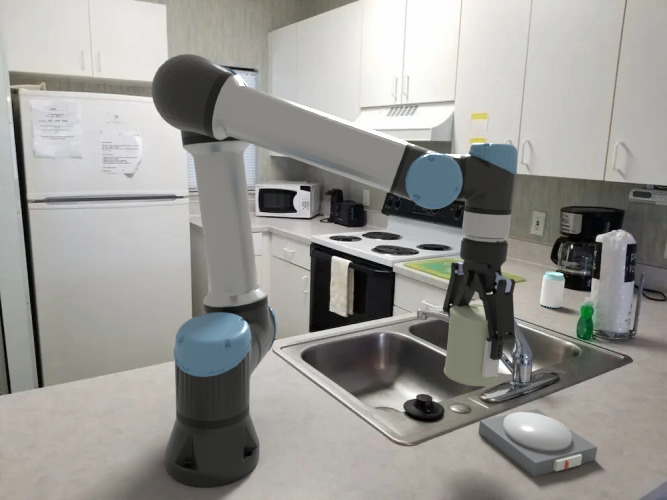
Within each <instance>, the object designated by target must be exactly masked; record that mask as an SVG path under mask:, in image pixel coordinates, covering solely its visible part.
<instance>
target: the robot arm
mask: <svg viewBox="0 0 667 500" xmlns="http://www.w3.org/2000/svg"><path fill="white" fill-rule="evenodd" d="M151 82H152V83H151V97H152V98H151V99H152V101H153V105H154V107H155V109H156V112H158V114H159V116H160V117H161V118H162V119H163V120H164V121H165V122H166V123H167V124H168V125H170V127H173V128H175V129H176V130H179V131H180V135H181V136H180V137H181V142H182V148H183V150H185V151H186V152H187V153H188V154H190V155H191V157H192V159H193V165H194V166H193V167H194V172H195V179H196V181H195V182H196V187H197V195H198V201H199V202H198V203H199V211H200V217H201V218H200V219H201V226H202V233H203V235H202V236H203V242H204V249H205V257H206V266H207V273H208V279H209V280H208V281H209V287H210V288H209V292H208V293H207V295H206V296H205V297H204V298H203V301H202V302H203V303H202V304H203V309H204V310H203V311H204V314H202V315H201V316H198V315H197V316H196V315H195V316H194V317H191V318H190V319H188V320H187V321H185V322H184V323H182V325H180V327H179V328H178V330H177V332H176V334H175V339H174V340H175V341H174V348H173V359H174V376H175V377H174V378H175V379H174V380H175V381H174V383H175V417H176V418H175V421H174V423H173V427H172V430H171V432H170V435H169V439H168V441H167V444H166V448H165V452H164V453H165V469H166V471H167V473H168V474H169V475H170V477H172V478H173V479H174V480H176V481H177V482H179V483H181V484H184V485H189V486H191V487H192V486H194V487H201V488H202V487H203V488H205V487H207V488H208V487H211V488H212V487H219V486H223V485H228V484H231V483H233V482H236V481H238V480H241V479H242V478H244V477H246V476H247V475H248V474H250V473H251V472H252V471H253V470H254V469H255V467H256V466H257V465H258V463H259V459H260V448H261V446H260V439H259V436H258V433H257V431H256V427H255V425H254V423H253V419H252V417H251V413H250V396H251V394H250V393H251V391H250V388H251V386H250V383H251V376H252V375H253V372H255V369H257V367H258V366H259V364H260V363H261V362H262V361H263V359H264V358H265V356H266V355H267V354H268V353H269V351H270V350H271V349H272V347H273V345H274V342H275V340H276V337H277V332H278V320H277V317H276V314H275V312H274V309H273V308H272V306H270V304H269V299H268V297H269V296H268V292H267V290H266V289H264V288H263V287H262V286H260V285H259V283H258V274H257V273H258V272H257V263H256V257H255V256H256V255H255V254H256V253H255V246H254V238H253V228H252V220H251V211H250V210H251V209H250V203H249V201H250V200H249V193H248V183H247V174H246V166H245V157H244V153H245V151H246V149H248V147H249V146H250V144H251V145H254V146H257V147H259V148H263V149H265V150H269V151H270V152H273V153H276V154H279V155H281V156H285V157H288V158H289V159H290V158H291V159H294V160H295V161H299V162H302V163H304V164H308V165H310V166H314V167H317V168H319V169H322V170H324V171H328V172H331V173H333V174H336V175H339V176H342V177H345V178H347V179H350V180H353V181H356V182H358V183H362V184H364V185H367V186H370V187H373V188H376V189H380V190H381V191H385V192H386V193H387V192H388V193H390V194H393V195H395V196H397V197H400V198H403V199H407V200H409V201H411V202H413V203H415V204H416V206H418V207H421V208H425V209H427V210H437V209H442V208H445V207H447V206H450V204H452V203H453V202H454V201H464V210H463V216H462V217H463V219H462V228H461V233H462V235H464V236H463V237H462V238H461V242H460V251H459V257H460V258H461V259H462V260H463V261H453V262H451V264H450V277H449V281H448V284H447V285H448V286H447V290H446V294H445V297H444V300H443V301H444V302H443V306H442V311H443V313H446V314H447V316H448V318H449V319H450V308H451V307H453V306H468V305H469V304H470V303H471V301H472V299H473V297H474V296H475V293H477V294H478V298H479V300H480V301H482V306H484V311H485V316H486V321H488V325H487V327H488V332H489V337H490V338H486V340H485V349H484V358H483V367H482V376H483V377H484V378H485V377H492V376H498V374H499V367H500V366H499V365H500V360H501V359H502V358H503V349H504V344H505V342H508V341H514V340H515V338H516V336H515V335H516V334H515V332H516V331H515V313H514V312H515V311H514V310H515V308H514V292H515V291H514V290H515V287H516V286H515V285H516V280H515V279H514V278H506V277H504V276H503V274H502V273H503V272H502V266H503V264H505V263H506V261H507V258H508V257H507V256H508V250H509V249H508V248H509V242H508V241H507V240H506V239H508V238H509V236H510V229H511V221H512V220H511V219H512V211H513V210H512V209H513V201H514V195H515V185H516V178H517V176H518V172H517V169H518V168H517V165H518V149H517V147H516V146H515V145H514V144H510V143H495V142H493V143H491V142H489V143H487V142H473V143H472V144H471V145H470V147H469V151H468V153H465V154H463V153H462V154H454V153H444V152H441V151H435V150H432V149H428V148H426V147H422V146H419V145H417V144H414V143H413V144H412V143H410V142H408V141H406V140H402V139H399V138H397V137H394V136H391V135H390V134H385V133H382V132H379V131H376V130H373V129H371V128H368V127H365V126H362V125H359V124H357V123H354V122H351V121H348V120H345V119H342V118H339V117H338V116H337V117H336V116H334V115H331V114H328V113H325V112H322V111H320V110H317V109H314V108H310V107H308V106H305V105H301V103H300V104H299V103H296V102H293V101H291V100H288V99H284V98H282V97H279V96H276V95H273V94H271V93H268V92H265V91H261V90H259V89H255V87H254V88H253V87H251V86H249V85H248V83H246V81H245V80H244V79H243V78H242V77H241V76H240V75H239V74H238V73H237V72H235V70H233V69H231V68H229V67H226V66H224V65H221V64H218V63H216V62H213V61H212V60H210V59H208V58H205V57H203V56H200V55H196V54H193V53H192V54H191V53H190V54H189V53H185V54H178V55H176V56H172V57H170V58H168V59H167V60H165V61H164V62H163V63H162V64H161V65H160V66H159V67H158V68H157V71H156V72H155V73H154V77H153V79H152V81H151ZM496 331H497V333H496ZM498 377H499V376H498Z"/></svg>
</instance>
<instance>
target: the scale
mask: <svg viewBox="0 0 667 500" xmlns="http://www.w3.org/2000/svg"><path fill="white" fill-rule="evenodd" d="M478 434H480V435H481V436H482V437H483V438H485V439H486V440H487V441H488V442H489V443H491V444H492V445H493V446H494V447H496V448H497V449H498V450H499V451H501V452H502V453H503V454H504V455H506V456H507V457H508V458H510V459H511V460H512V461H513V462H515V463H516V464H517V465H518V466H520V467H521V468H522V469H523V470H525V471H526V472H527V473H528V474H529V475H531V476H532V477H538V476H541V475H544V474H545V475H546V474H549V473H552V472H559V471H563V470H568V469H570V468H574V467H577V466H581V465H583V464H585V463H586V464H587V463H590V462H593V461H596V459H597V458H596V457H597V451H598V446H596V445H595V444H593V443H592V442H590V441H588V440H587V439H586V438H584V437H583V436H581V435H579V434H578V433H576V432H575V431H573V430H571V429H570V428H569V427H568V426H566V425H565V424H563V423H562V422H560V421H558V420H557V419H554V418H553V417H551V416H550V415H548V414H546V413H544V412H543V411H541V410H539V409H538V408H535V409H529V410H524V411H519V412H518V411H517V412H513V413H510V414H505V415H501V416H496V417H490V418H485V419H481V420H479V425H478Z"/></svg>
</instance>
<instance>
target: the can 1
mask: <svg viewBox="0 0 667 500" xmlns="http://www.w3.org/2000/svg"><path fill="white" fill-rule="evenodd" d="M487 325H488V321H486V316H485V311H484V306H483V305H479V304H470V303H469V305H468V306H453V307H451V308H450V318H449V322H448V334H447V345H446V354H445V362H444V363H445V364H444V368H443V373H444V375H445V376H446V377H447V378H448V379H450V380H452V381H453V382H456V383H459V384H462V385H466V386H469V387H488V386H492V385H494V384H496V383H497V381H498V379H499V376H492V377H485V378H484V377H483V376H482V367H483V358H484V349H485V340H486V338H490V337H489V332H488V327H487ZM496 333H497V331H496Z"/></svg>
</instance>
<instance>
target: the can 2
mask: <svg viewBox="0 0 667 500" xmlns="http://www.w3.org/2000/svg"><path fill="white" fill-rule="evenodd" d="M542 277H543V278H542V283H541V284H542V285H541V291H540V292H541V293H540V302H539V304H540V305H541V306H542V305H543V306H542V307H544V306H546V307H545V308H547V307H551V308H550V309H552V308H557V309H559V308H561V307H562V304H563V297H564V289H565V282H566V279H565V277H564V273H561V272H558V271H545V274H544V275H543V276H542Z"/></svg>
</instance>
